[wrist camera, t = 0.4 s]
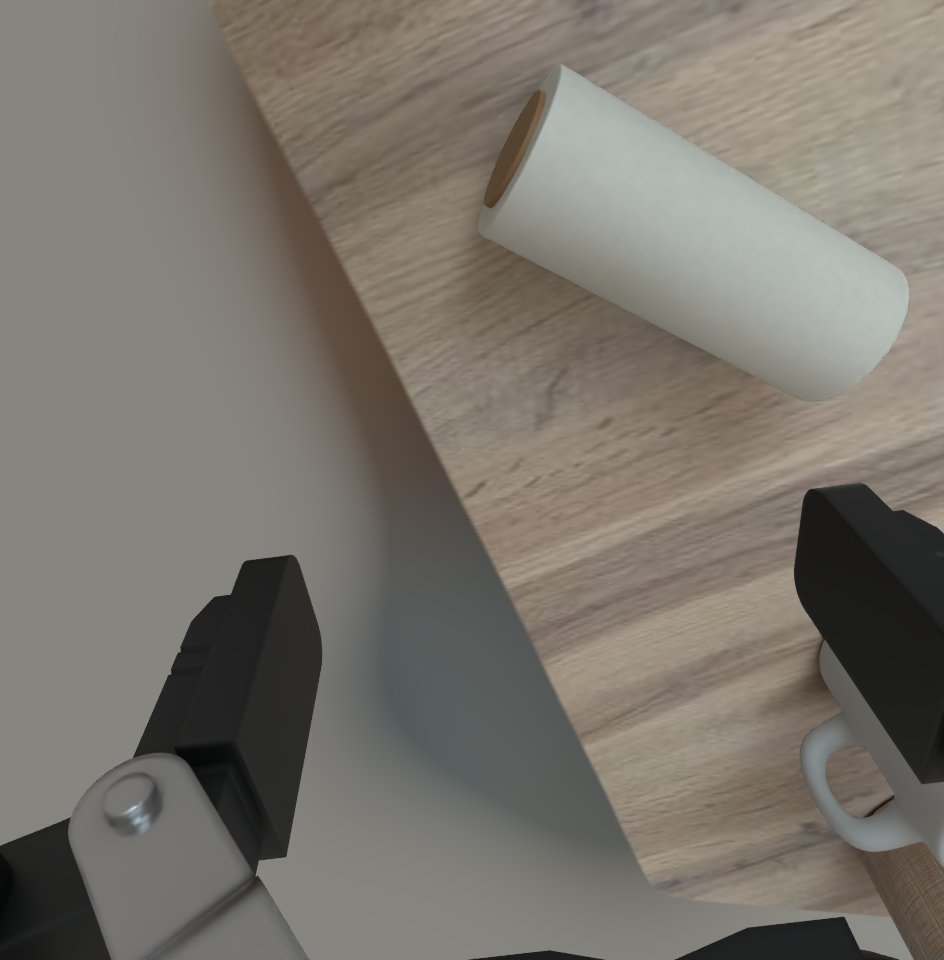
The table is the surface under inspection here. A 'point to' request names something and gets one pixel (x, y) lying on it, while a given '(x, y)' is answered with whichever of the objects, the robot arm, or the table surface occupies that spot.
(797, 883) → the table surface
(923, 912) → the planter
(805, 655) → the table surface
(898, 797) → the mug
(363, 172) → the table surface
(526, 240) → the towel roll
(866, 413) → the table surface
